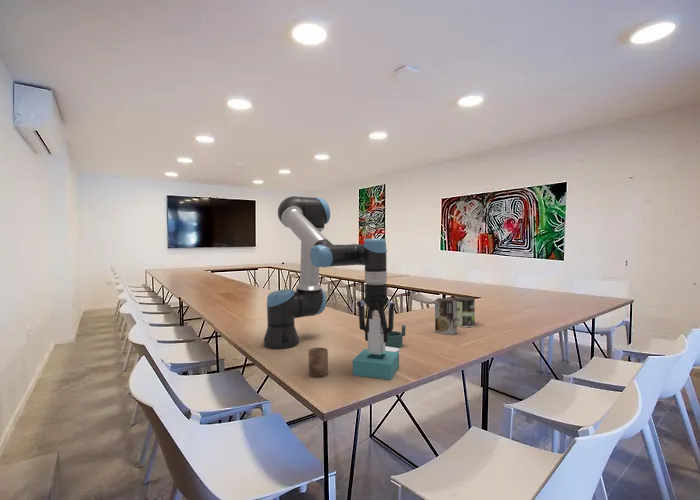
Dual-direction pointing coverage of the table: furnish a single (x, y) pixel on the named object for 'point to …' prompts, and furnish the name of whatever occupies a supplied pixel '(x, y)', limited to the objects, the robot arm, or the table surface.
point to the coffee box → (445, 316)
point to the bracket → (395, 338)
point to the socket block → (376, 364)
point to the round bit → (318, 362)
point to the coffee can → (465, 311)
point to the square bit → (375, 335)
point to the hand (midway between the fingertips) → (376, 350)
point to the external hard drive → (391, 349)
